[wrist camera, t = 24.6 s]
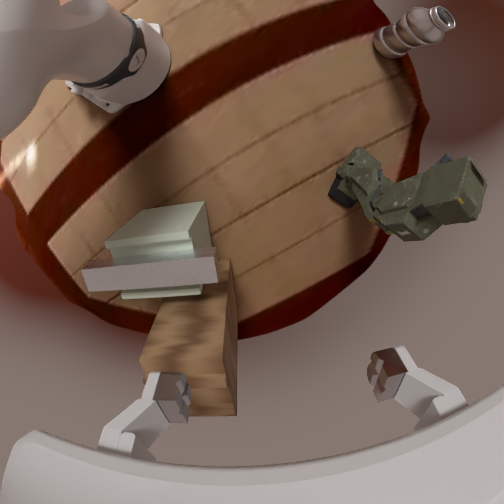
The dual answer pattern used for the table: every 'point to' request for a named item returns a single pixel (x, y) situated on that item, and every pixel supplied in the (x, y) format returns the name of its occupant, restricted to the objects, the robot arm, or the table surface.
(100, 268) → the link bar
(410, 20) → the plastic bottle
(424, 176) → the mechanical leg
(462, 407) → the robot arm
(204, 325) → the wood grain block
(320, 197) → the table surface
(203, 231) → the shelf block
